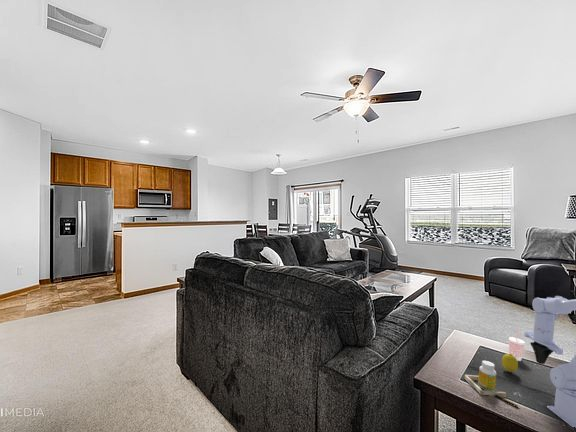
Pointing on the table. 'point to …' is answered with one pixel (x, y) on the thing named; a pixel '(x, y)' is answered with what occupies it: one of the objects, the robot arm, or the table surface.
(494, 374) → the supplement bottle
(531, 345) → the robot arm
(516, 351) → the beverage cup
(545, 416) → the table surface
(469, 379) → the ash bracket
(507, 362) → the lemon
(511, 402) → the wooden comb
